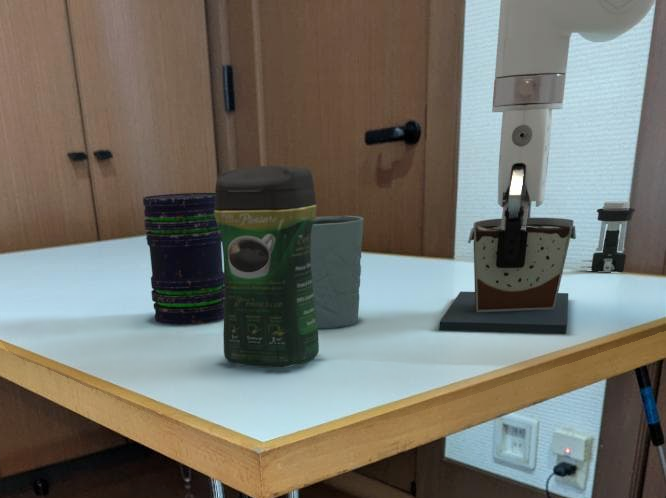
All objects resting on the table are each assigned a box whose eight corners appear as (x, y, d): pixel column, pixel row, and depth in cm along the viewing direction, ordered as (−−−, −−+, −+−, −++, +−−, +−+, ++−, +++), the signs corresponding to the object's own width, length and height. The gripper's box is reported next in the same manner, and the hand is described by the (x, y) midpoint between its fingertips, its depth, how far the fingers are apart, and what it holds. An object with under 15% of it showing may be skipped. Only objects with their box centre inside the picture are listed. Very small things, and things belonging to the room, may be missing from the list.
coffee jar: (329, 355, 85) (328, 162, 76) (295, 374, 79) (290, 166, 70) (250, 348, 89) (241, 165, 81) (212, 365, 83) (198, 169, 75)
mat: (567, 300, 106) (568, 293, 105) (566, 334, 89) (567, 324, 89) (459, 298, 110) (460, 291, 110) (438, 330, 93) (439, 321, 93)
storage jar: (215, 326, 101) (206, 197, 94) (142, 325, 103) (129, 199, 96) (236, 310, 109) (230, 191, 103) (169, 310, 112) (158, 194, 105)
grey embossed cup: (356, 330, 95) (357, 222, 90) (273, 329, 97) (270, 224, 92) (367, 313, 104) (368, 214, 98) (290, 313, 106) (288, 216, 101)
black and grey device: (579, 273, 125) (588, 204, 120) (579, 268, 129) (588, 201, 125) (626, 273, 123) (637, 203, 118) (624, 268, 127) (635, 200, 123)
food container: (551, 299, 102) (561, 215, 97) (566, 308, 96) (578, 220, 92) (453, 303, 102) (459, 219, 98) (463, 312, 97) (470, 224, 92)
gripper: (562, 91, 80) (542, 274, 88) (564, 96, 95) (546, 252, 103) (486, 95, 83) (472, 273, 91) (499, 100, 97) (486, 252, 105)
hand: (512, 261), depth 97 cm, fingers open, 7 cm apart
